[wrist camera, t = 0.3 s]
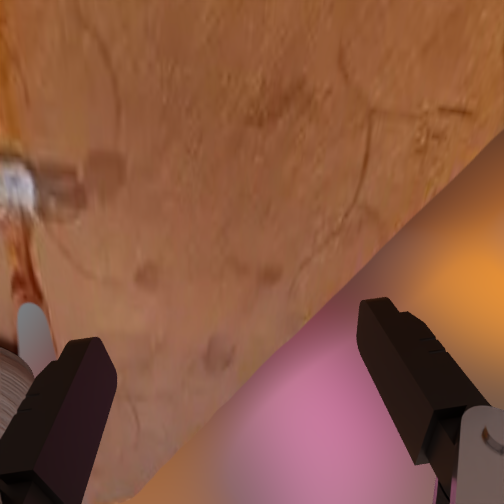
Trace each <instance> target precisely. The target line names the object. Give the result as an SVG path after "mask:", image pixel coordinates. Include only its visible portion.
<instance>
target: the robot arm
mask: <svg viewBox="0 0 504 504" xmlns="http://www.w3.org/2000/svg"><path fill="white" fill-rule="evenodd" d="M356 337H357V345H358V349H359V352H360V355H361V357H362V359H363V361H364V363H365V365H366V367H367V369H368V371H369V373H370V375H371V377H372V379H373V381H374V383H375V385H376V387H377V389H378V391H379V394H380V396H381V398H382V400H383V402H384V404H385V406H386V408H387V409H388V412H389V414H390V416H391V418H392V420H393V422H394V424H395V426H396V428H397V430H398V432H399V434H400V436H401V438H402V440H403V442H404V444H405V446H406V448H407V450H408V452H409V454H410V456H411V458H412V461H413V463H414V465H420V464H426V463H430V465H431V467H432V468H433V470H434V472H435V474H436V480H435V486H434V495H433V503H432V504H504V411H503V410H501V409H498V408H495V407H492V406H491V405H490V404H489V403H488V402H487V401H486V399H485V398H484V397H483V396H482V394H481V393H480V392H479V391H478V389H477V388H476V387H475V386H474V384H473V383H472V382H471V381H470V379H469V378H468V377H467V376H466V374H465V373H464V372H463V371H462V369H461V368H460V367H459V366H458V364H457V363H456V362H455V361H454V359H453V358H452V357H451V356H450V354H449V353H448V352H446V351H445V348H444V347H443V346H442V344H441V343H440V342H439V341H438V340H436V337H435V336H434V334H433V333H432V332H431V330H430V329H429V328H428V327H427V325H426V324H425V323H424V322H423V321H421V320H420V319H418V318H417V317H415V316H414V315H412V314H411V313H409V312H408V311H407V312H399V311H398V310H397V308H396V307H395V306H394V304H393V303H392V302H391V300H390V299H389V298H387V297H382V298H375V299H367V300H362V301H361V302H360V306H359V316H358V325H357V335H356ZM116 388H117V373H116V369H115V367H114V365H113V363H112V361H111V359H110V357H109V355H108V353H107V351H106V349H105V347H104V345H103V343H102V341H101V339H100V338H98V337H91V338H84V339H77V340H71V341H69V342H68V343H67V344H66V346H65V348H64V349H63V351H62V353H61V355H60V357H59V359H58V360H57V361H51V362H50V363H49V364H48V365H47V367H46V368H45V369H44V370H43V371H42V372H41V373H40V374H39V375H38V376H37V377H36V378H35V380H34V381H33V383H32V385H31V387H30V388H29V390H28V392H27V393H26V395H25V396H26V398H25V399H23V400H22V402H21V404H20V406H19V407H18V409H17V414H15V415H14V416H13V418H12V420H11V421H10V423H9V425H8V427H7V428H6V430H5V432H4V434H3V435H2V437H1V439H0V504H81V503H82V500H83V496H84V493H85V490H86V487H87V483H88V480H89V477H90V474H91V470H92V467H93V464H94V461H95V457H96V454H97V451H98V448H99V444H100V441H101V438H102V434H103V431H104V428H105V425H106V421H107V418H108V415H109V412H110V408H111V405H112V402H113V399H114V395H115V392H116Z"/></svg>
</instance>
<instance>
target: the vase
mask: <svg viewBox="0 0 504 504" xmlns="http://www.w3.org/2000/svg"><path fill="white" fill-rule="evenodd" d="M34 380H35V379H34V376H33V373H32V370H31V369H30V367H29V366H28V365H27V364H26V363H25V362H24V361H23V360H22V359H21V358H20V357H18V356H17V355H16V354H14V353H12V352H10V351H8V350H6V349H4V348H2V347H0V439H1V437H2V435H3V434H4V432H5V430H6V428H7V427H8V425H9V423H10V421H11V420H12V418H13V416H14V415H15V414H17V409H18V407H19V406H20V404H21V402H22V400H23V399H25V398H26V396H25V395H26V393H27V392H28V390H29V388H30V387H31V385H32V383H33V381H34Z"/></svg>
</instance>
